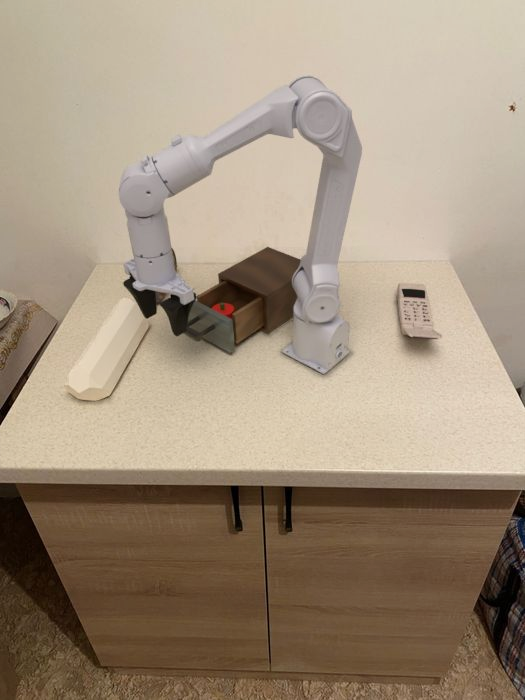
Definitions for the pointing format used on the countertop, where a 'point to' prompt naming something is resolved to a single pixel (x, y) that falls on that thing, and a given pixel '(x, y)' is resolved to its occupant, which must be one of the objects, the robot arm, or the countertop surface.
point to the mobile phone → (415, 311)
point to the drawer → (220, 326)
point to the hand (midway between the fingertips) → (165, 324)
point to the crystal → (107, 353)
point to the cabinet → (267, 283)
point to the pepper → (224, 309)
